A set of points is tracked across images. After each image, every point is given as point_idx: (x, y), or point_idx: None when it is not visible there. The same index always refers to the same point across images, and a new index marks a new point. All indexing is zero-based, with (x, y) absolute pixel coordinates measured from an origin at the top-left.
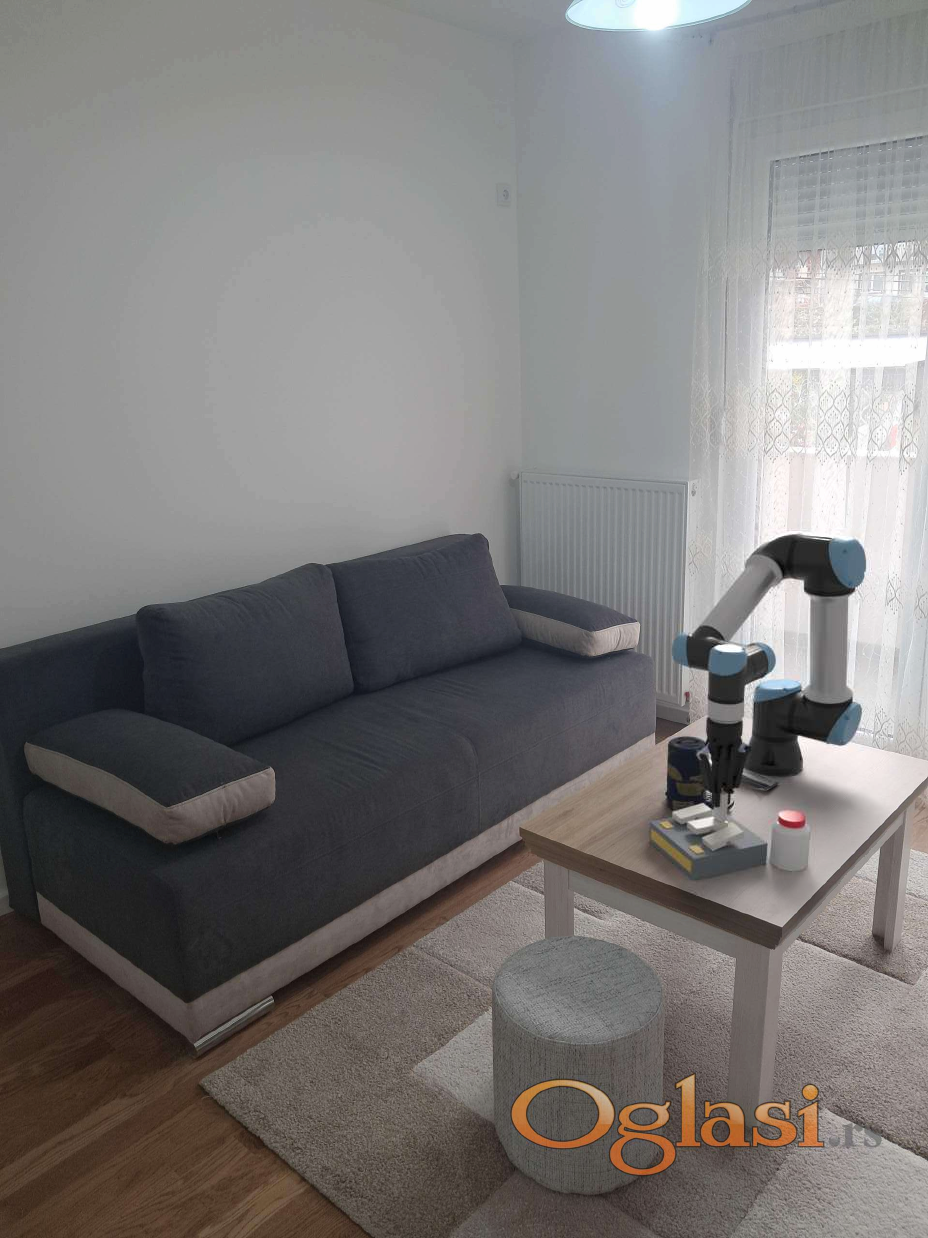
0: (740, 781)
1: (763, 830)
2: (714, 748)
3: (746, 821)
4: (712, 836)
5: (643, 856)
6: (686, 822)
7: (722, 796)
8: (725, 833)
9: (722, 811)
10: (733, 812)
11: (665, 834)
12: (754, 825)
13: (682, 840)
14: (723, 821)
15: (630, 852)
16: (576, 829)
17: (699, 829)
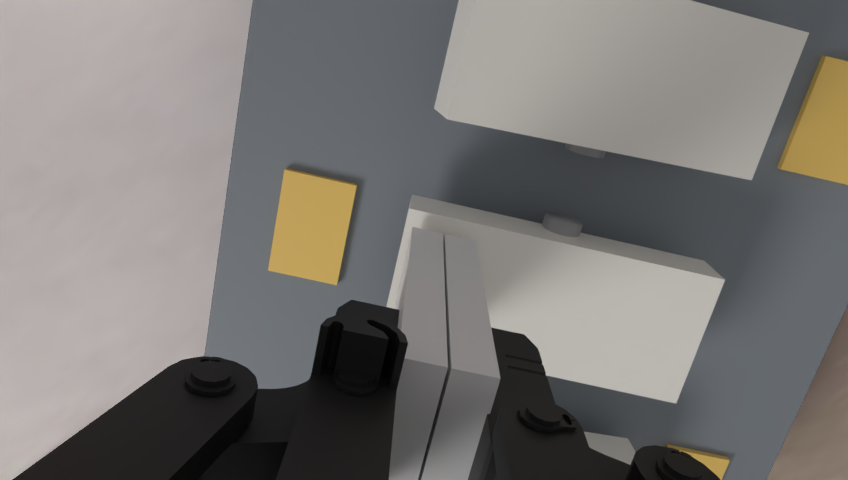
0: (114, 407)
1: (6, 224)
2: None
3: (25, 353)
4: (697, 126)
5: (826, 391)
6: (587, 433)
7: (486, 362)
8: (608, 67)
9: (463, 276)
10: (22, 461)
11: (795, 411)
12: (14, 296)
13: (783, 288)
14: (445, 235)
15: (840, 456)
16: None
17: (692, 268)
